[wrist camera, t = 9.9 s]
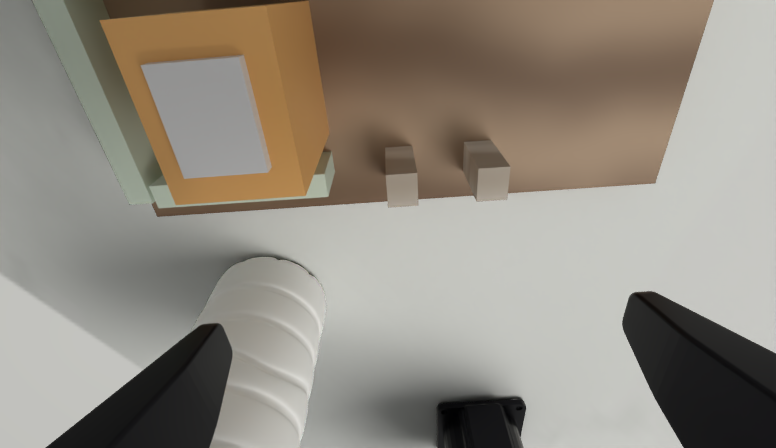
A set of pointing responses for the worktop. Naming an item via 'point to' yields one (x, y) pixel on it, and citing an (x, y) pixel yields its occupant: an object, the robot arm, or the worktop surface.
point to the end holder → (123, 104)
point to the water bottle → (266, 351)
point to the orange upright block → (227, 98)
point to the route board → (486, 93)
